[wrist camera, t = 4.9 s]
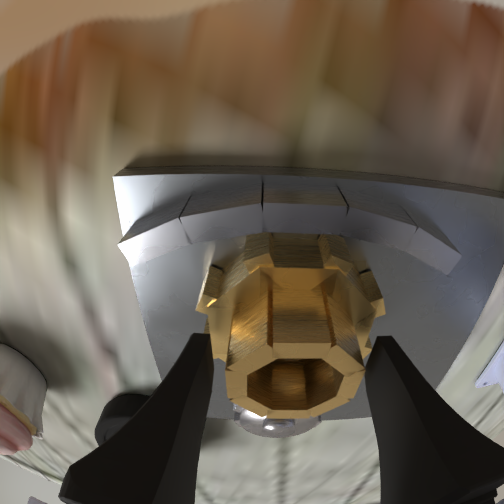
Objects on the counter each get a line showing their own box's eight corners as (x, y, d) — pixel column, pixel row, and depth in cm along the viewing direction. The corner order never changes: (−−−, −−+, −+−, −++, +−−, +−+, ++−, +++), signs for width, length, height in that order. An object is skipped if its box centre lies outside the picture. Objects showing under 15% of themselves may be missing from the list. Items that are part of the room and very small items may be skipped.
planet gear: (387, 231, 12) (431, 306, 8) (352, 355, 16) (366, 428, 12) (198, 224, 12) (168, 301, 8) (211, 353, 16) (198, 428, 12)
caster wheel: (154, 360, 22) (235, 432, 25) (75, 407, 24) (150, 465, 27) (132, 424, 16) (236, 493, 19) (50, 458, 18) (139, 515, 20)
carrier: (513, 194, 11) (557, 229, 8) (416, 400, 20) (428, 438, 17) (122, 168, 12) (80, 204, 9) (176, 402, 21) (166, 445, 18)
